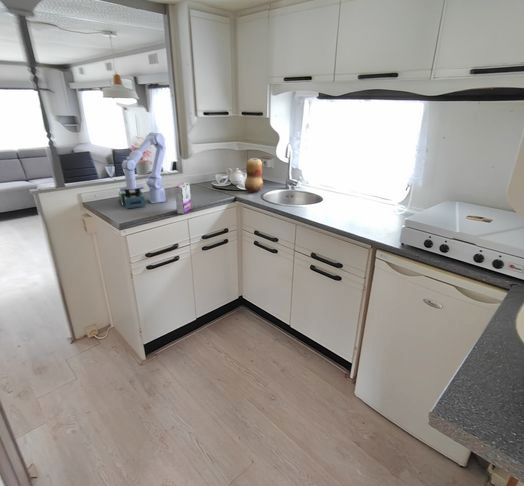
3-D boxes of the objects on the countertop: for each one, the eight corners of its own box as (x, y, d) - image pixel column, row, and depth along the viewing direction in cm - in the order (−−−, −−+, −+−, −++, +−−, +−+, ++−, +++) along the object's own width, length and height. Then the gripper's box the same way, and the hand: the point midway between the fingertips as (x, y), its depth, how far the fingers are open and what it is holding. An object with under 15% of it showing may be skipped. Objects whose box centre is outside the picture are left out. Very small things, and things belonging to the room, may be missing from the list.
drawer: (146, 207, 201) (145, 198, 198) (127, 210, 195) (125, 200, 193) (141, 200, 215) (139, 191, 213) (122, 202, 210) (121, 193, 208)
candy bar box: (184, 208, 204) (182, 182, 197) (191, 209, 203) (189, 183, 196) (176, 213, 193) (174, 186, 187) (184, 214, 193) (182, 187, 186)
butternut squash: (249, 195, 235) (249, 160, 225) (241, 191, 246) (241, 157, 236) (266, 193, 241) (267, 159, 232) (257, 189, 252) (258, 156, 242)
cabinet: (143, 203, 213) (141, 191, 209) (122, 206, 207) (120, 193, 204) (139, 198, 224) (137, 186, 221) (119, 200, 218) (117, 188, 215)
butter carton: (130, 202, 207) (129, 195, 205) (136, 201, 208) (135, 195, 207) (131, 204, 203) (130, 197, 201) (137, 203, 204) (136, 197, 203)
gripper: (118, 182, 193) (122, 204, 199) (144, 180, 200) (146, 201, 205) (117, 179, 199) (120, 201, 204) (141, 177, 206) (144, 198, 211)
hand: (133, 201), depth 205 cm, fingers closed on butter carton, 3 cm apart
